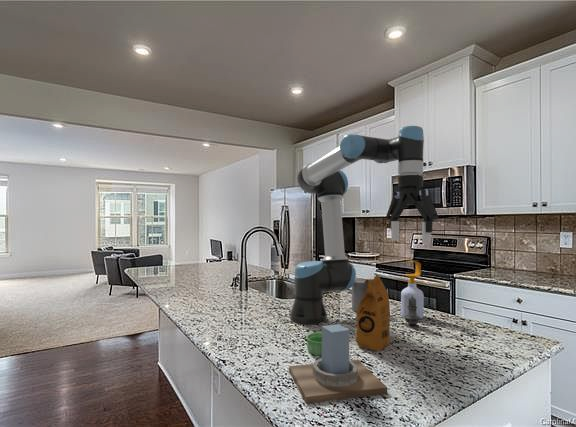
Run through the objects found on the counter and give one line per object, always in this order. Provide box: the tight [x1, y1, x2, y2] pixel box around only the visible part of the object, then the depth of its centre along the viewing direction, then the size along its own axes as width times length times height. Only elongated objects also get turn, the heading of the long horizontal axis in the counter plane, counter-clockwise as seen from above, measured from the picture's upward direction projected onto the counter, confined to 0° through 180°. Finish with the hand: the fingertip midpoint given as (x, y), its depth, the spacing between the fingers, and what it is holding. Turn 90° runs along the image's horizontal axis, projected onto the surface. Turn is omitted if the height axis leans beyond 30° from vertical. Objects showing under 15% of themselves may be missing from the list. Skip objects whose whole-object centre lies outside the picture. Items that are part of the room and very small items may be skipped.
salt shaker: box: [403, 295, 421, 329], centre depth 130 cm, size 6×6×12 cm
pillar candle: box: [351, 277, 369, 313], centre depth 152 cm, size 10×10×15 cm
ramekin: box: [305, 332, 322, 357], centre depth 104 cm, size 9×9×4 cm
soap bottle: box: [400, 258, 425, 320], centre depth 143 cm, size 9×9×25 cm
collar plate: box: [288, 357, 388, 405], centre depth 84 cm, size 16×20×4 cm
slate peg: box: [321, 323, 350, 375], centre depth 84 cm, size 5×5×12 cm
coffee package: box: [355, 275, 391, 352], centre depth 111 cm, size 10×12×22 cm
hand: (409, 242), depth 106 cm, fingers open, 13 cm apart
